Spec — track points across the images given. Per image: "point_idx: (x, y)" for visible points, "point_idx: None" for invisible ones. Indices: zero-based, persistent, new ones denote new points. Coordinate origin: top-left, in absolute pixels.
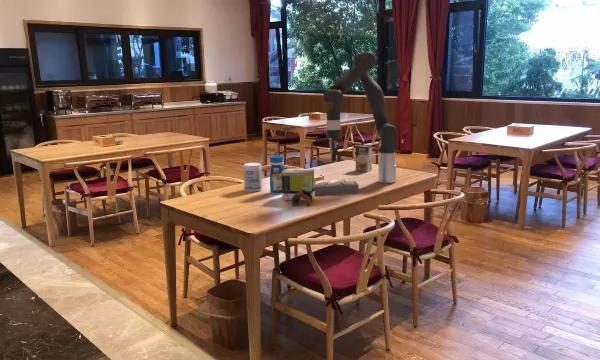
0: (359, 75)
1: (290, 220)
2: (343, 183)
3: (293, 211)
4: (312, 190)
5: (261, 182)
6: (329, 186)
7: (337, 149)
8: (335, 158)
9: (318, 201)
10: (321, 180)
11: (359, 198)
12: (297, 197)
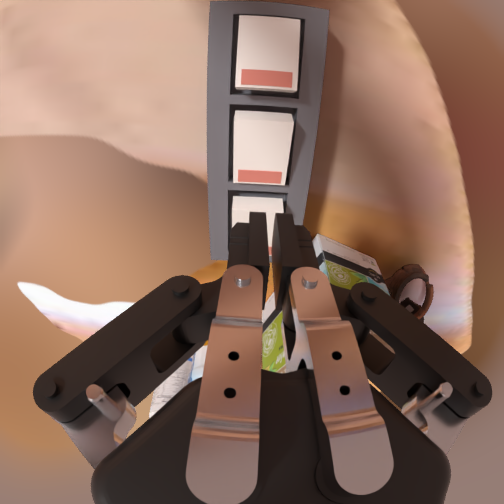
0: None
1: (471, 308)
2: (292, 92)
3: (431, 303)
4: (358, 269)
5: (182, 369)
6: (309, 181)
7: (445, 341)
8: (309, 240)
9: (388, 232)
10: (236, 220)
11: (415, 60)
12: (423, 318)
